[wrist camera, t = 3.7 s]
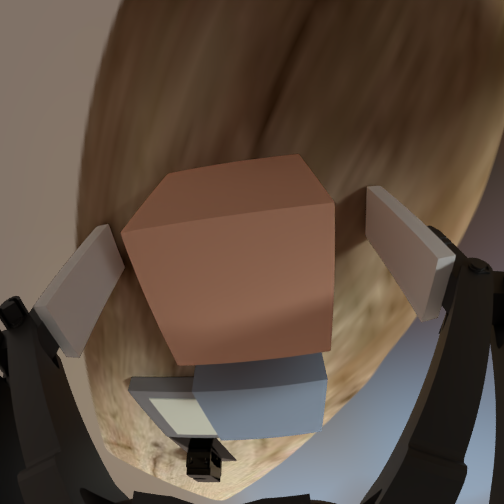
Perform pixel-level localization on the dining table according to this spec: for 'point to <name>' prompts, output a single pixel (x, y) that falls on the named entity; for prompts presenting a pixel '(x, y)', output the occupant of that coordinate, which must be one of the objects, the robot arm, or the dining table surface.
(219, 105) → the dining table surface
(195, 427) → the blueprint board
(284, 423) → the blue block
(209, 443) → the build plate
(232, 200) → the terracotta block
